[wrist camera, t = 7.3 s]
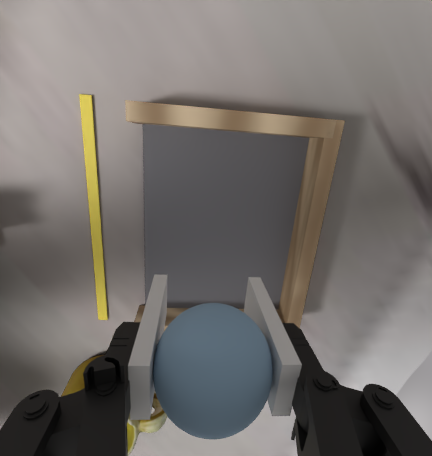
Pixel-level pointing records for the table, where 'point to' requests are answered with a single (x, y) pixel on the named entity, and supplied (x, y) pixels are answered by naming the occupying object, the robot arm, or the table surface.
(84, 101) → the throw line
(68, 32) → the table surface
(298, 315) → the wooden u-shaped frame
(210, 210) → the mat
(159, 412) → the mug
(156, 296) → the robot arm
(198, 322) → the ball
